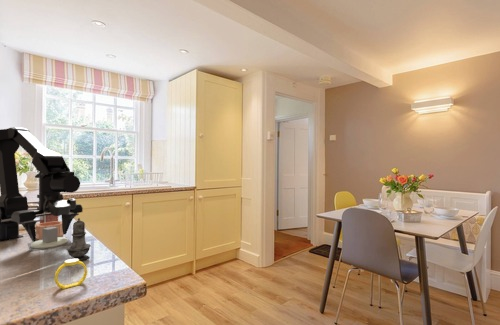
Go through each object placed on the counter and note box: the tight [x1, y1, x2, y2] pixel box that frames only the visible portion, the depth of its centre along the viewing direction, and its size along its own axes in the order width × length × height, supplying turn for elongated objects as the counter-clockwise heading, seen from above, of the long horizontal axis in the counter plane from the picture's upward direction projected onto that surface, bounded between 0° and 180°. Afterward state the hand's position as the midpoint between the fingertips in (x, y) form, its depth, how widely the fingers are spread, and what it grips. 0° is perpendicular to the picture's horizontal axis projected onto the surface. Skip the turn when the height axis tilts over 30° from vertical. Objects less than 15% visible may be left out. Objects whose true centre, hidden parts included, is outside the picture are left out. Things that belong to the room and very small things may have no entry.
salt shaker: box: [66, 217, 92, 263], centre depth 75 cm, size 6×6×12 cm
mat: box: [27, 236, 73, 253], centre depth 88 cm, size 11×11×1 cm
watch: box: [54, 258, 88, 290], centre depth 59 cm, size 6×3×6 cm, turn 130°
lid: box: [30, 227, 69, 250], centre depth 88 cm, size 10×10×5 cm
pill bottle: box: [39, 215, 59, 224], centre depth 110 cm, size 6×6×11 cm
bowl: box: [35, 220, 64, 240], centre depth 97 cm, size 8×8×5 cm
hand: (49, 237), depth 88 cm, fingers open, 9 cm apart
